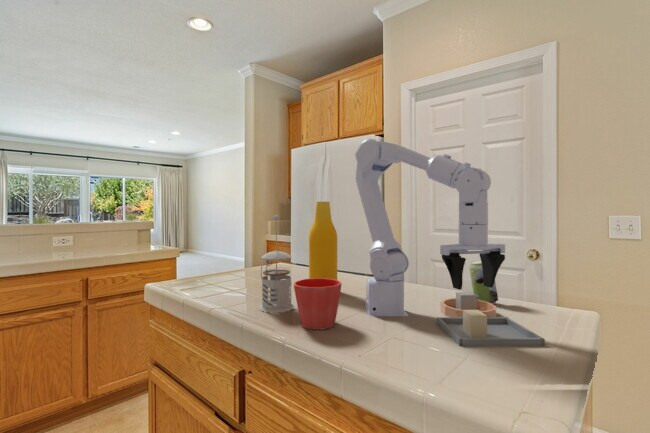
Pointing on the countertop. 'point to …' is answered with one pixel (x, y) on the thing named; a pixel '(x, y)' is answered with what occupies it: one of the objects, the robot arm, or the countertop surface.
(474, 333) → the cream wooden cube
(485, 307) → the bowl
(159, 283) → the countertop surface
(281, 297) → the french press
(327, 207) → the beer bottle
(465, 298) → the grey sharp-edged cube
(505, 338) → the tray
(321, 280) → the flower pot
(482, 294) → the beverage can
